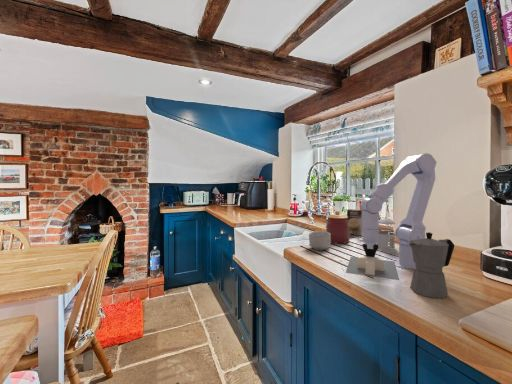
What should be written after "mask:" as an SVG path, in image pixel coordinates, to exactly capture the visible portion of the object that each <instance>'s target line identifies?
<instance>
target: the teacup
mask: <svg viewBox="0 0 512 384" xmlns="http://www.w3.org/2000/svg"><path fill="white" fill-rule="evenodd" d="M330 235H331V234H330V233H328V232H326V231H319V230H318V231H316V230H315V231H313V232H312V231H311V232H308V240H309V243H308V244H309V246H310V247H311V248H312V249H313V250H315V249H316V250H317V251H326V250H327V249H328V248H329V247H331V237H330Z"/></svg>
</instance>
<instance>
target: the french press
mask: <svg viewBox="0 0 512 384" xmlns="http://www.w3.org/2000/svg"><path fill="white" fill-rule="evenodd" d="M388 202H389V199H387V200H386V201H385V202H384V203H388ZM380 224H381V225H386V227H387V228H379V239H378V240H379V243H377V244H378V250H380V251H383V252H397V251H398V250H397V249H396V244H395V243H396V240H395V239H396V238H395V236H396V234H395V233H394V232H395V230H394V227H393V225H395V224H396V222H395V221H394V220H391V219H389V218H383V219H379V225H380ZM391 228H392V229H391ZM378 250H377V251H378Z"/></svg>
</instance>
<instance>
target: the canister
mask: <svg viewBox="0 0 512 384" xmlns="http://www.w3.org/2000/svg"><path fill="white" fill-rule="evenodd" d="M326 217H327V219H326V220H325V222H326V225H325V232H328V233H330V234H331V235H330V237H331V243H332V244H347V243H350V239H351V238H350V235H349V228H350V227H349V222H350V221H349V220H348V219H347V218H348V217H347V214H344V213H341V211H340V210H336V211H335V213H330V214H329V215H327V216H326Z"/></svg>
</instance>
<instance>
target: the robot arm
mask: <svg viewBox="0 0 512 384" xmlns="http://www.w3.org/2000/svg"><path fill="white" fill-rule="evenodd" d="M437 164H438V163H437V160H436V159H435V158H434V156H433V154H431V153H428V152H425V153H422V154H418V155H408V156H407V157H406V158H404V160H402V161H401V162H400V163H399V166H398V168H397V169H396V170H395V171H394V172H393V174H392V175H391V176H390V177H389V178H387V180H386V182H381V183H380V184H379V183H378V184H377V185H375V189H374V190H373V191H372V192H371V193H369V194H368V195H367V197H365V198H363V199H362V200H361V203H360V204H359V208H360V210H362V212H363V234H362V235H361V236H362V237H361V238H358V239H359V242H362V245H361V246H362V249H363V251H364V254H365V256H368V257H376V253H377V251H378V244H377V243H379V240H378V239H379V232H380V231H379V229H380V228H379V225H380V223H379V220H380V219H379V217H380V216H379V215H380V214H379V212H381V211H382V208H383V204H384V203H386V202H385V201H386V200H389V198H390V197H391V196H392V195H393V194H394V188H395V187H396V186H397V185H398V184H399V183H401V181H402V180H403V179H405V178H406V177H407V176H408V175H409V174H411V175H412V176H413V177H415V179H416V181H417V182H416V185H415V188H414V191H413V195H412V198H411V200H410V203H409V207H408V211H407V213H406V217H405V218H404V219H402V220H401V221H400V223H399V225H398V227H396V229H395V230H394V232H395V233H394V234H395V236H396V238H397V239H398V260H396V261H397V265H398V267H399V268H405V269H413V270H414V269H415V268H416V263H415V262H414V260H413V253H412V247H411V246H409V244H410V243H411V240H415V239H423V238H426V230H427V229H426V226H425V224H424V223H423V220H424V217H425V213H426V211H427V207H428V203H429V201H430V197H431V194H432V191H433V188H434V186H435V185H434V184H435V182H436V171H435V170H436V165H437Z"/></svg>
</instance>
